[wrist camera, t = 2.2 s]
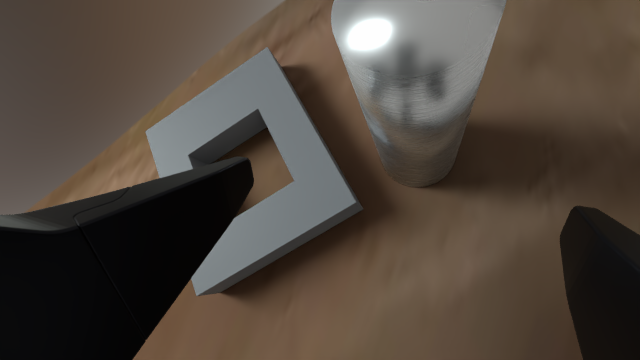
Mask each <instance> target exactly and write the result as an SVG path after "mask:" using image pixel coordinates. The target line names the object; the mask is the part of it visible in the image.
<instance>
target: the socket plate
mask: <svg viewBox="0 0 640 360" xmlns="http://www.w3.org/2000/svg"><path fill="white" fill-rule="evenodd" d="M266 127H268V129H269V131H270V133H271V135H272V137H273V139H274V141H275V143H276V145H277V147H278V149H279V151H280V153H281V155H282V157H283V159H284V161H285V163H286V165H287V167H288V169H289V171H290V173H291V175H292V177H293V179H294V182H292V183H290V184H289V185H287V186H286V187H284V188H282V189H281V190H279V191H277V192H276V193H274V194H273V195H271V196H269V197H268V198H266V199H264V200H263V201H261V202H260V203H258V204H256V205H255V206H253V207H251V208H250V209H248V210H247V211H245V212H243V213H242V214H240V215H239V216H237V217H235V218H234V219H233V221H232V222H231V224H230V225H229V227H228V228H227V230H226V231H225V232H224V234H223V235H222V236H221V238H220V239H219V241H218V242H217V243H216V245H215V246H214V247H213V249H212V250H211V252H210V253H209V254H208V256H207V257H206V258H205V260H204V261H203V263H202V264H201V265H200V267H199V268H198V270H197V271H196V272H195V274H194V275H193V276H192V278H191V280H192V283H193V286H194V289H195V292H196V296H200V295H208V294H216V293H220V292H222V291H224V290H225V289H227V288H229V287H231V286H232V285H234V284H236V283H237V282H239V281H241V280H243V279H244V278H246V277H248V276H250V275H251V274H253V273H255V272H256V271H258V270H260V269H262V268H263V267H265V266H267V265H268V264H270V263H272V262H274V261H275V260H277V259H279V258H280V257H282V256H284V255H286V254H287V253H289V252H291V251H292V250H294V249H296V248H298V247H299V246H301V245H303V244H304V243H306V242H308V241H310V240H311V239H313V238H315V237H317V236H318V235H320V234H322V233H323V232H325V231H327V230H329V229H330V228H332V227H334V226H335V225H337V224H339V223H341V222H342V221H344V220H346V219H347V218H349V217H351V216H353V215H354V214H356V213H358V212H359V211H361V210H363V208H362V206H361V204H360V202H359V201H358V199H357V197H356V195H355V194H354V192H353V190H352V189H351V187H350V185H349V183H348V182H347V180H346V178H345V176H344V175H343V173H342V171H341V169H340V168H339V166H338V164H337V163H336V161H335V159H334V157H333V156H332V154H331V152H330V150H329V149H328V147H327V145H326V144H325V142H324V140H323V138H322V137H321V135H320V133H319V131H318V130H317V128H316V126H315V124H314V123H313V121H312V119H311V118H310V116H309V114H308V112H307V111H306V109H305V107H304V105H303V104H302V102H301V100H300V98H299V97H298V95H297V93H296V92H295V90H294V88H293V86H292V85H291V83H290V81H289V79H288V78H287V76H286V74H285V73H284V71H283V69H282V67H281V66H280V64H279V63H278V61H277V60H276V59H275V57H274V56H273V54H272V53H271V51H270V50H269V49H268V47H267V48H265V49H264V50H262V51H261V52H259V53H258V54H256V55H255V56H254V57H252V58H251V59H249V60H248V61H246V62H245V63H243V64H242V65H241V66H239V67H238V68H236V69H235V70H233V71H232V72H230V73H229V74H228V75H226V76H225V77H223V78H222V79H220V80H219V81H217V82H216V83H215V84H213V85H212V86H210V87H209V88H207V89H206V90H204V91H203V92H202V93H200V94H199V95H197V96H196V97H194V98H193V99H191V100H190V101H189V102H187V103H186V104H184V105H183V106H181V107H180V108H178V109H177V110H176V111H174V112H173V113H171V114H170V115H168V116H167V117H165V118H164V119H163V120H161V121H160V122H158V123H157V124H155V125H154V126H152V127H151V128H150V129H148V130H147V131H145V132H146V135H147V138H148V141H149V144H150V148H151V151H152V154H153V157H154V161H155V164H156V167H157V170H158V173H159V177H160V178H162V177H166V176H169V175H173V174H177V173H180V172H184V171H187V170H191V169H194V168H198V167H201V166H205V165H208V164H211V163H213V162H214V161H216V160H217V159H219V158H220V157H222V156H223V155H225V154H226V153H228V152H229V151H231V150H232V149H234V148H236V147H237V146H239V145H240V144H242V143H243V142H245V141H246V140H248V139H249V138H251V137H252V136H254V135H255V134H257V133H259V132H260V131H262V130H263V129H265V128H266Z"/></svg>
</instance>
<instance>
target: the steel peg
mask: <svg viewBox="0 0 640 360" xmlns="http://www.w3.org/2000/svg"><path fill="white" fill-rule="evenodd" d="M505 4H506V0H334V3H333V7H332V14H331V24H332V30H333V34H334V37H335V39H336V42H337V45H338V47H339V50H340V53H341V55H342V58H343V61H344V63H345V66H346V69H347V71H348V74H349V76H350V79H351V82H352V84H353V87H354V90H355V92H356V95H357V98H358V100H359V103H360V106H361V108H362V111H363V114H364V116H365V119H366V122H367V124H368V127H369V130H370V132H371V135H372V138H373V140H374V143H375V146H376V148H377V151H378V154H379V156H380V159H381V162H382V164H383V167H384V169H385V171H386V172H387V173H388V175H389V176H390V177H391V178H392V179H394V180H395V181H397V182H398V183H400V184H402V185H405V186H409V187H426V186H430V185H432V184H435V183H437V182H439V181H440V180H442V179H443V178H444V177H445V176H446V175H447V174H448V173H449V172H450V170H451V169H452V167H453V165H454V162H455V159H456V156H457V153H458V150H459V147H460V144H461V140H462V137H463V134H464V131H465V128H466V125H467V122H468V119H469V116H470V113H471V110H472V106H473V103H474V100H475V97H476V94H477V91H478V88H479V85H480V82H481V79H482V76H483V72H484V69H485V66H486V63H487V60H488V57H489V54H490V51H491V48H492V45H493V42H494V38H495V35H496V32H497V29H498V26H499V23H500V20H501V17H502V14H503V11H504V7H505Z"/></svg>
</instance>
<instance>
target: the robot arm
mask: <svg viewBox="0 0 640 360" xmlns="http://www.w3.org/2000/svg"><path fill="white" fill-rule="evenodd" d="M253 184H254V178H253V172H252V167H251V162H250V160H249V159H248V158H245V157H233V158H230V159H226V160H223V161H219V162H216V163H212V164H208V165H205V166H201V167H198V168H194V169H191V170H187V171H184V172H180V173H177V174H173V175H169V176H166V177H162V178H159V179H155V180H152V181H148V182H145V183H141V184H138V185H134V186H132V187H127V188H123V189H120V190H116V191H112V192H109V193H105V194H101V195H98V196H94V197H90V198H86V199H82V200H78V201H74V202H69V203H65V204H61V205H57V206H53V207H49V208H45V209H40V210H36V211H32V212H27V213H22V214H14V215H0V360H132V359H133V358H134V357H135V355H136V354H137V353H138V351H139V350H140V348H141V347H142V346H143V344H144V343H145V340H146V339H147V338H148V337H149V336H150V334H151V333H152V332H153V330H154V329H155V327H156V326H157V325H158V323H159V322H160V321H161V319H162V318H163V316H164V315H165V314H166V312H167V311H168V309H169V308H170V307H171V305H172V304H173V303H174V301H175V300H176V298H177V297H178V296H179V294H180V293H181V292H182V290H183V289H184V287H185V286H186V285H187V283H188V282H189V281H190V279H191V278H192V276H193V275H194V274H195V272H196V271H197V270H198V268H199V267H200V265H201V264H202V263H203V261H204V260H205V258H206V257H207V256H208V254H209V253H210V252H211V250H212V249H213V247H214V246H215V245H216V243H217V242H218V241H219V239H220V238H221V236H222V235H223V234H224V232H225V231H226V230H227V228H228V227H229V225H230V224H231V222H232V221H233V219H234V218H235V216H236V215H237V213H238V211H239V209H240V208H241V206H242V204H243V202H244V201H245V199H246V197H247V195H248V194H249V192H250V190H251V188H252V187H253ZM560 248H561V256H562V264H563V273H564V281H565V289H566V296H567V300H568V305H569V309H570V312H571V316H572V320H573V324H574V327H575V331H576V335H577V339H578V342H579V346H580V350H581V354H582V357H583V360H640V235H639V234H637V233H635V232H634V231H632V230H630V229H629V228H627V227H626V226H624V225H622V224H621V223H619V222H618V221H616V220H614V219H613V218H611V217H610V216H608V215H606V214H605V213H603V212H602V211H600V210H598V209H596V208H591V207H584V206H575V207H573V209H572V210H571V211H570V214H569V216H568V218H567V220H566V223H565V225H564V227H563V229H562V231H561V235H560Z"/></svg>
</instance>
